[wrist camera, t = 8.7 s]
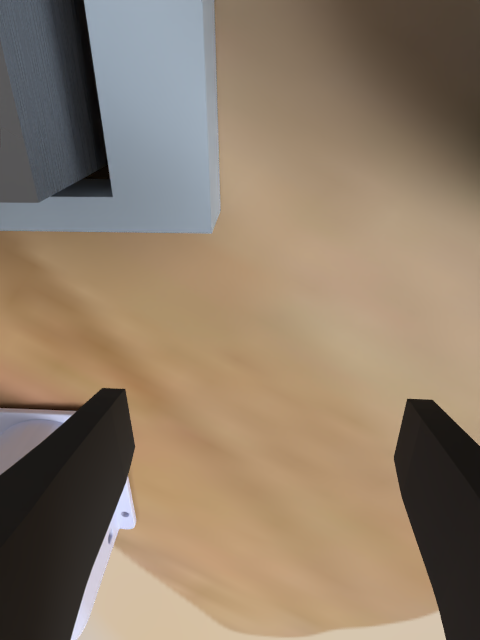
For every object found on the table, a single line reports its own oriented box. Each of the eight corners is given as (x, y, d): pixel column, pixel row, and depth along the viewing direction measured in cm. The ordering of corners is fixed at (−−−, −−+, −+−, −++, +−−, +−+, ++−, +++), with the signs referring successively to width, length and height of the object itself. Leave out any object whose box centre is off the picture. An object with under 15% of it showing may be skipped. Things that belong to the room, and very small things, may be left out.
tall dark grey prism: (120, 158, 18) (38, 202, 11) (47, 158, 18) (-71, 202, 12) (93, -32, 15) (-35, -108, 8) (6, -30, 15) (-180, -102, 9)
